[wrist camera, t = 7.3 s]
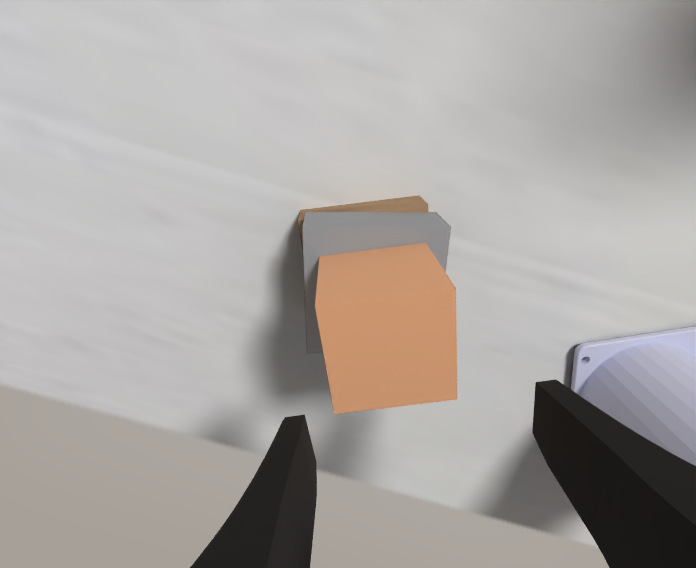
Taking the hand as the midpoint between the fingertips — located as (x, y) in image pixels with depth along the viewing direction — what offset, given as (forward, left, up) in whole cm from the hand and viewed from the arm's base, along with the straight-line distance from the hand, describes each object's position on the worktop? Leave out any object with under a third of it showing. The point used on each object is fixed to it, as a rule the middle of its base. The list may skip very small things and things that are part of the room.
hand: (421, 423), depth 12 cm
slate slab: (+2, +1, -8) cm, 9 cm away
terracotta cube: (+2, +1, -6) cm, 6 cm away
